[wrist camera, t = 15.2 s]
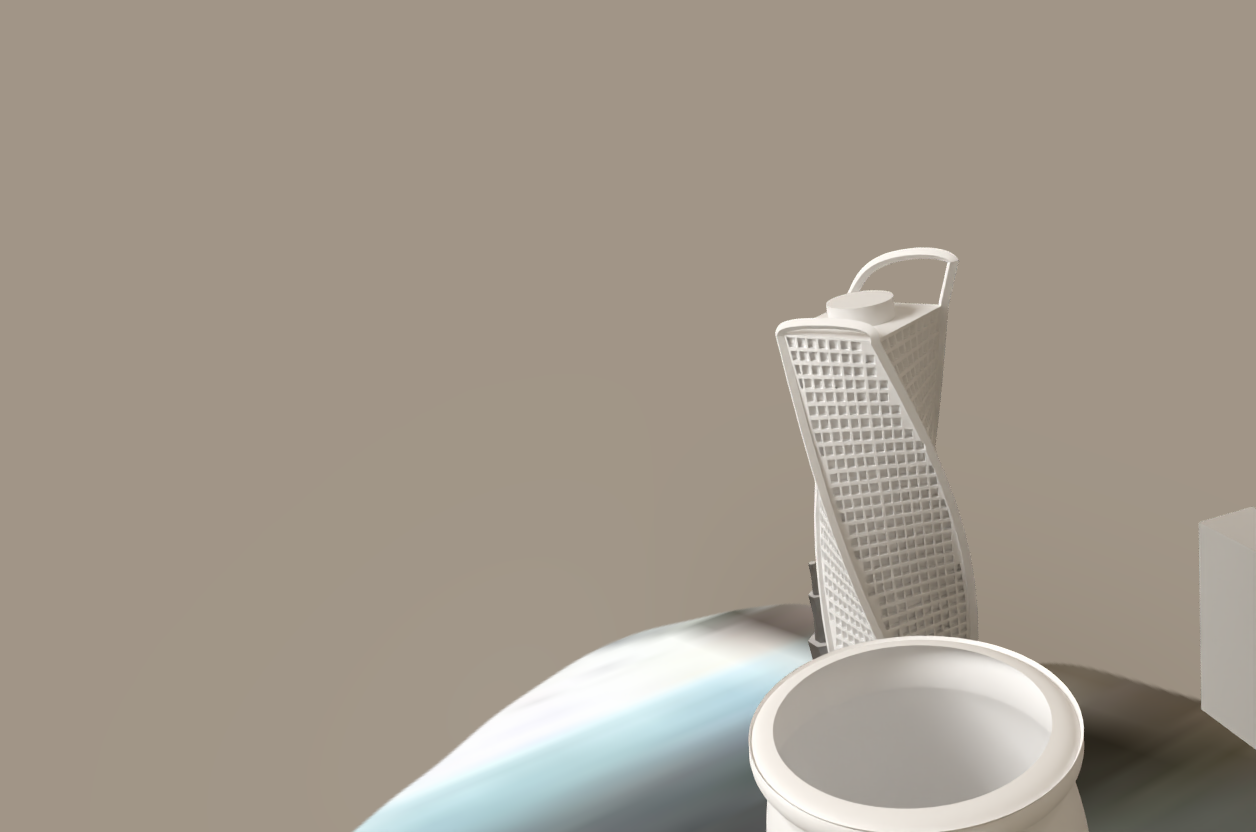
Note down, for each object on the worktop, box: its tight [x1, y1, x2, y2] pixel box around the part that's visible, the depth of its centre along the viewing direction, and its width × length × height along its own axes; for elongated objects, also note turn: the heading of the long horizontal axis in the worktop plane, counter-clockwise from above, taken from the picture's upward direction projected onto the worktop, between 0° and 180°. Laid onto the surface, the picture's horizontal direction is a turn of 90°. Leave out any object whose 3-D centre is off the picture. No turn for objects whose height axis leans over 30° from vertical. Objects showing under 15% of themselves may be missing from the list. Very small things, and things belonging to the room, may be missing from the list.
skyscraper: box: [775, 248, 978, 660], centre depth 50 cm, size 8×8×28 cm
